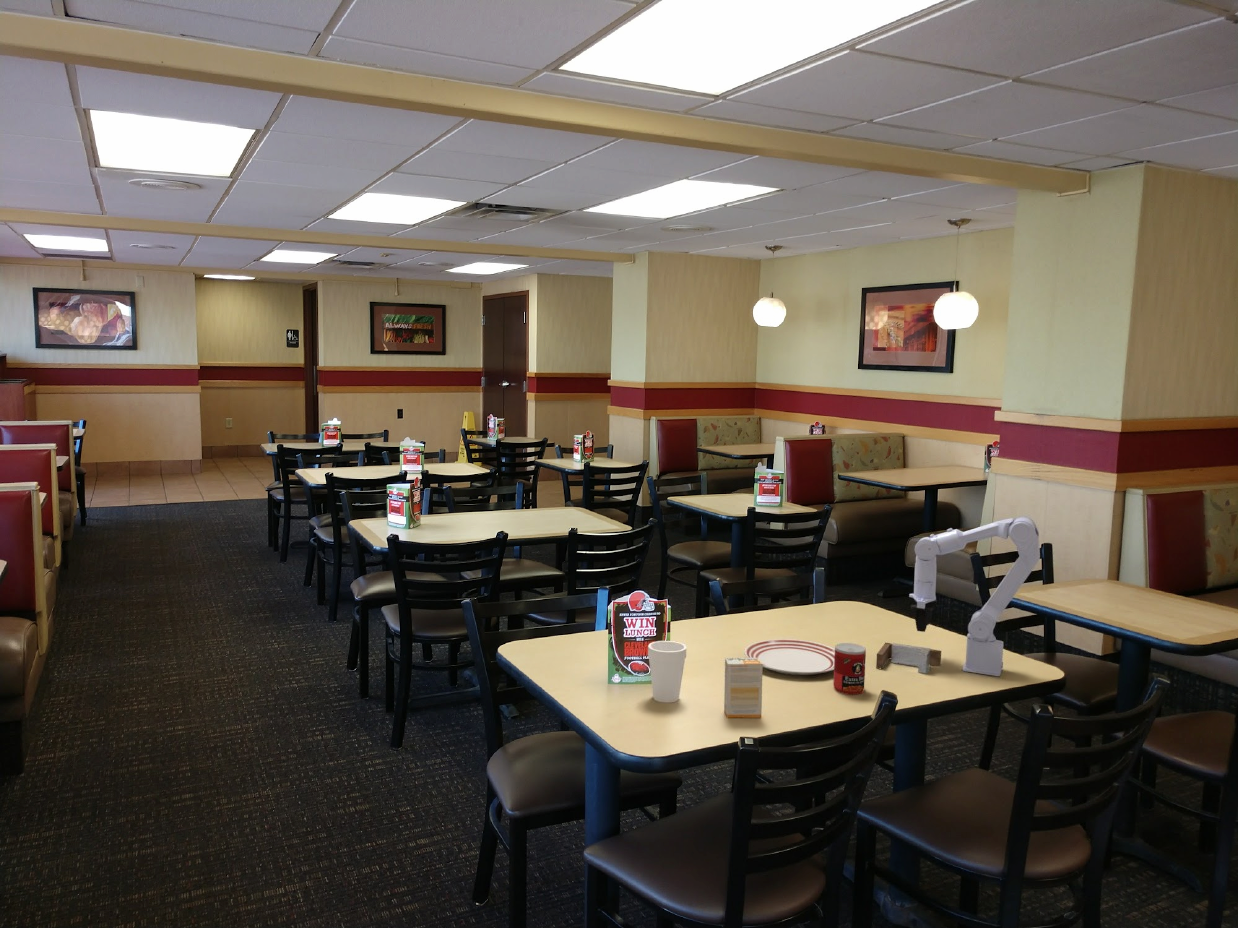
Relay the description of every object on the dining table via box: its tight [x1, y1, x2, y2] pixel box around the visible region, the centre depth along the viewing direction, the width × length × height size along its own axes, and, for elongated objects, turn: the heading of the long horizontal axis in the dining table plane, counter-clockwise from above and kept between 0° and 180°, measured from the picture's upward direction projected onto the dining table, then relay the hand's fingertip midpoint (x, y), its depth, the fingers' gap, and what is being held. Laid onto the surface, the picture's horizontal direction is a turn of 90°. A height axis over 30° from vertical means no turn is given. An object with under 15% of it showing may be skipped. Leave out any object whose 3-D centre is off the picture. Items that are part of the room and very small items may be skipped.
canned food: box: [833, 642, 867, 695], centre depth 227 cm, size 8×8×11 cm
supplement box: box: [723, 657, 764, 719], centre depth 209 cm, size 8×5×13 cm, turn 92°
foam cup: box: [647, 640, 688, 704], centre depth 219 cm, size 10×9×13 cm
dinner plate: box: [744, 638, 835, 676], centre depth 247 cm, size 27×27×3 cm
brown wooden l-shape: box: [875, 642, 942, 670], centre depth 247 cm, size 15×12×4 cm
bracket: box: [890, 642, 932, 674], centre depth 246 cm, size 10×7×5 cm
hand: (922, 627), depth 251 cm, fingers open, 7 cm apart
